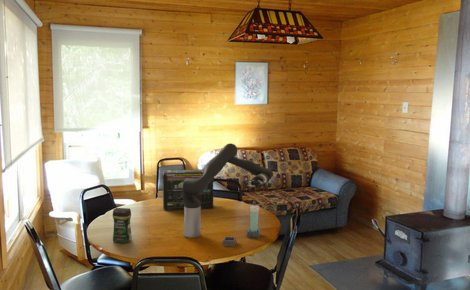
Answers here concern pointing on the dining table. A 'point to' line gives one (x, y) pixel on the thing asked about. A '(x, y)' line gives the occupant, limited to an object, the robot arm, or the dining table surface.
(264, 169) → the robot arm
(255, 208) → the plug
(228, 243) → the holster
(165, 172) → the router box
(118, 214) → the coffee jar
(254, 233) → the tray
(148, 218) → the dining table surface
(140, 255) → the dining table surface
